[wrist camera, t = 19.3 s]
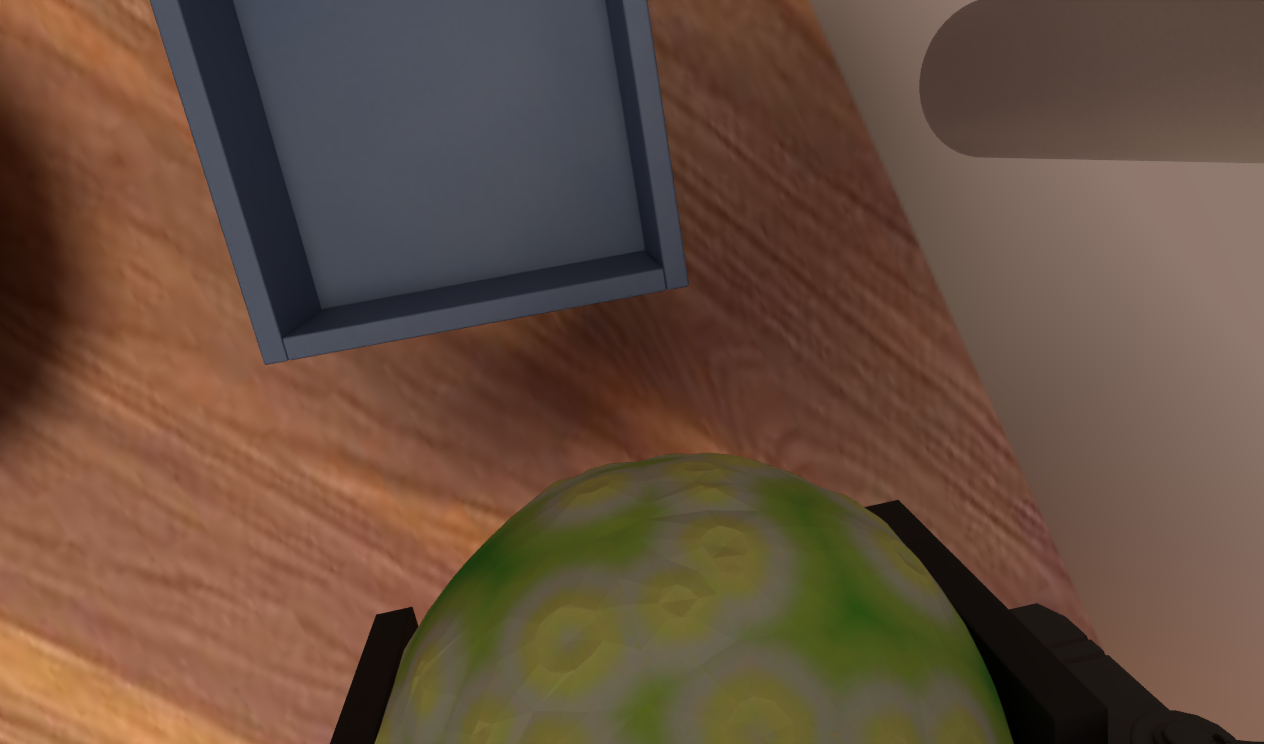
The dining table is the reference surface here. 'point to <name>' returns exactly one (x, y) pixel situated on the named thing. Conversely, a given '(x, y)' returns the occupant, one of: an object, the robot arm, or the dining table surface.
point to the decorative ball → (693, 622)
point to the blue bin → (427, 160)
